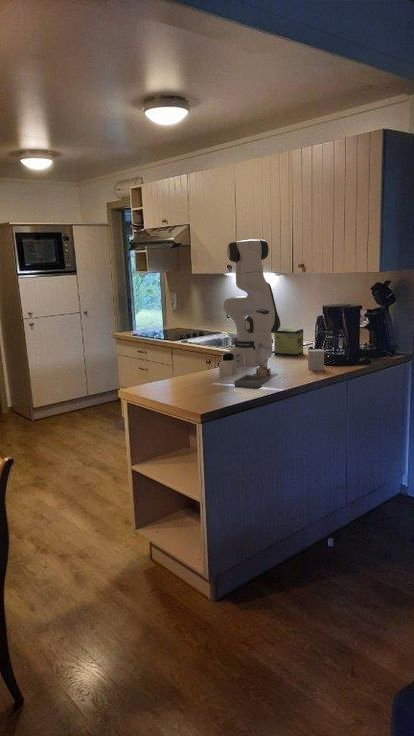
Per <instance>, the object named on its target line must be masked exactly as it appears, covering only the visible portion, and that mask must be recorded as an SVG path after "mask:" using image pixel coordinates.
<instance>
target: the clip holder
mask: <svg viewBox="0 0 414 736" xmlns="http://www.w3.org/2000/svg"><path fill="white" fill-rule="evenodd" d="M271 368H272V367H271ZM271 368H269V367H267V376H269V380H272V379H274V378H275V377H277V376H279V374H278V373H271V371H272V370H271ZM255 371H256V372H255V373H254V374H253V375H257V376H259V367H256V368H255Z"/></svg>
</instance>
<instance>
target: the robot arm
mask: <svg viewBox="0 0 414 736" xmlns="http://www.w3.org/2000/svg"><path fill="white" fill-rule="evenodd" d="M269 254H270V247H269V243H268V242H267V240H265V239H261V238H260V239H247V240H244V239H243V240H239V241H232V242H229V244H228V245H227V248H226V256H227V258H228V260H229V261H230V262H232V263H235V284H236V287H237V288H238V289H239V290H240V291H243V292H245V293H246V294H247V295H242V296H241V295H237V296H236V295H235V296H230V297H227V298H225V300H224V302H223V305H222V306H223V307H222V308H223V311H224V313H225V314H226V315H227V316H229V317H230V318H231V319H232V321H233V322H234V324H235V327H236V340H235V341H233V345H234V346H233V347H232V348H231V349H230V350H229V351H227V352H226V353H232V354H233V360H234V361H233V362H236V364H237V368H242V367H256V366H258V368H260V371H263V370H264V367H263V362H264V361H266V359H267V363H268V361H269V359H270V358H271V357H272V354H273V344H274V338H273V334H274V333H275V332H276V331H277V330H278V329H281V319H280V316H279V314H278V311H277V306H276V301H275V298H274V293H273V289H272V286H271V284H270V283H269V282H268V281H266V278H265V276H264V270H263V269H264V268H263V262H262V261H263V260H266V259H267V258H268V256H269ZM220 363H222V361H221V362H220Z"/></svg>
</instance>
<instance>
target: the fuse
mask: <svg viewBox="0 0 414 736" xmlns="http://www.w3.org/2000/svg"><path fill="white" fill-rule="evenodd" d="M263 367H264V370H263V371H260V368H259V367H258V368H259V376H267V369H268V362H267V359H266V361H264V362H263Z"/></svg>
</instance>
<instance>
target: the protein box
mask: <svg viewBox="0 0 414 736" xmlns="http://www.w3.org/2000/svg"><path fill="white" fill-rule="evenodd" d="M273 334H274V338H273V344H274V349H273V351H274V352H273V353H274V356H287V357H298V356H301V355H303V354H304V329H303V328H283V327H280V328H279V329H278V330H277V331H276V332H275V333H273Z"/></svg>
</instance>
